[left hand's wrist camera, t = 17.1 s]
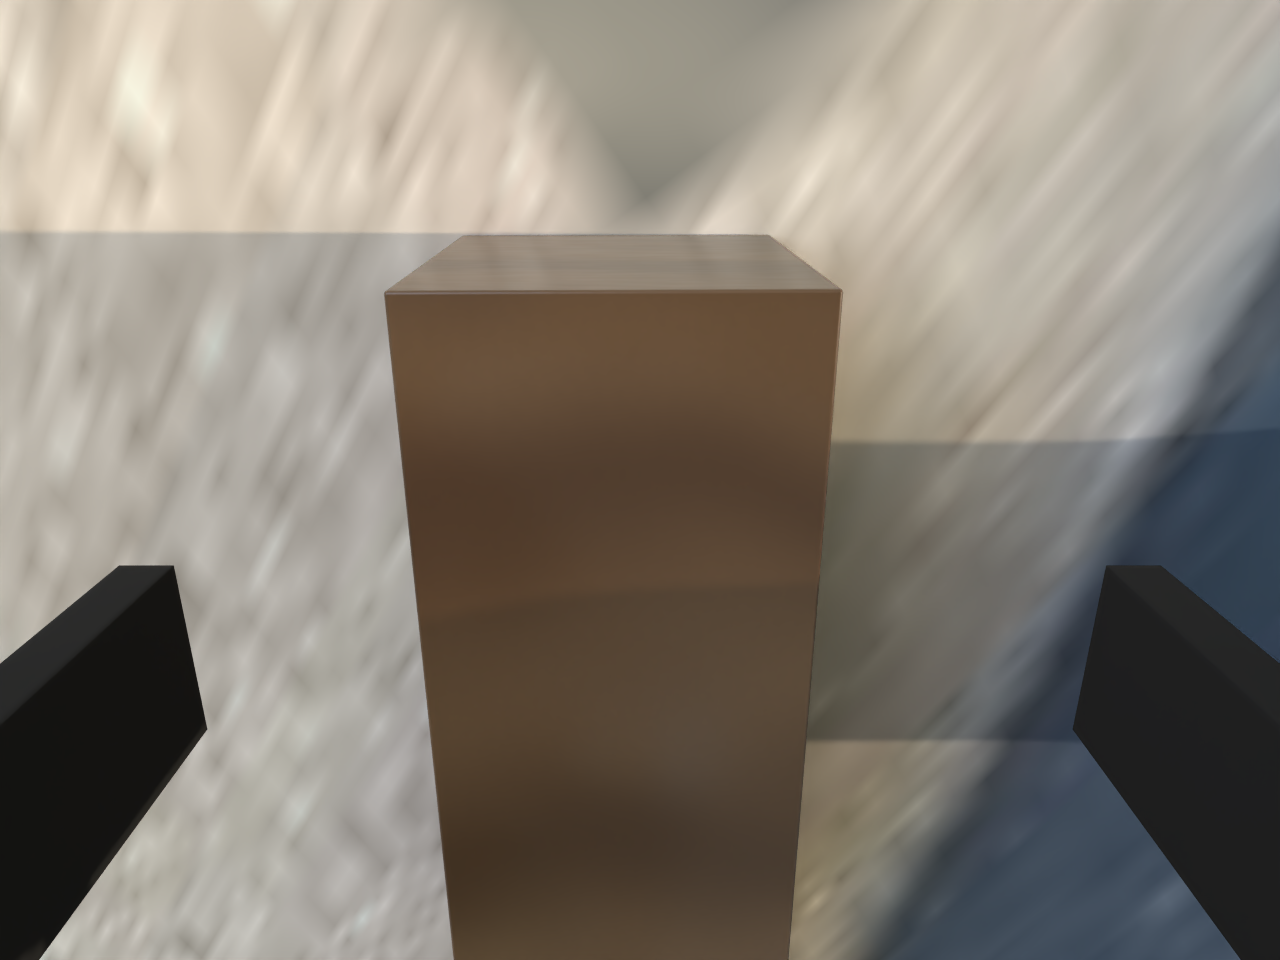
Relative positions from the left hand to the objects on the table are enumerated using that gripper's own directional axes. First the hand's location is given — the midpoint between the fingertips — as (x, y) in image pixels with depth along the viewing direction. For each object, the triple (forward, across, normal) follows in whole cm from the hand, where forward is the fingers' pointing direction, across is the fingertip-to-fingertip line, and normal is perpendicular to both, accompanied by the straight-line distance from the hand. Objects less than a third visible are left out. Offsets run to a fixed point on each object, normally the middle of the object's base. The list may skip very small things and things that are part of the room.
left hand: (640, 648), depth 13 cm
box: (+16, -1, -9) cm, 18 cm away
